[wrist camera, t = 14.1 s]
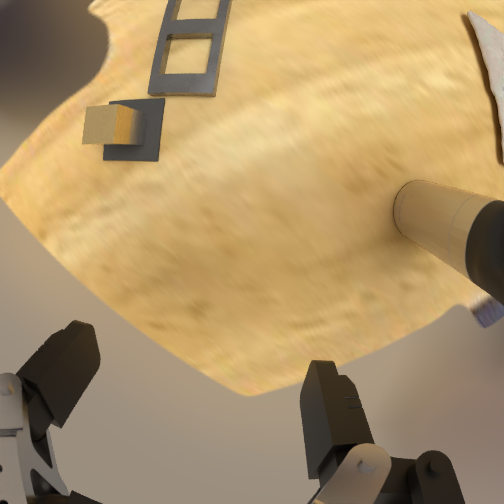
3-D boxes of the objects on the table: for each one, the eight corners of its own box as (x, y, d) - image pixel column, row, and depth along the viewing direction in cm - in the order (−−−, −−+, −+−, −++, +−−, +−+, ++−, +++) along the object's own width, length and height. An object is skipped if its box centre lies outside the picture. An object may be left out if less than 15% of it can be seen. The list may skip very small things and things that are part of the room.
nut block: (148, 114, 33) (118, 104, 24) (144, 145, 34) (113, 143, 26) (120, 114, 33) (86, 106, 24) (117, 144, 34) (82, 144, 26)
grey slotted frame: (237, -23, 25) (236, -29, 24) (215, 96, 33) (213, 93, 31) (180, -21, 25) (177, -27, 23) (152, 95, 32) (147, 93, 31)
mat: (165, 99, 33) (164, 98, 32) (158, 161, 36) (157, 161, 35) (110, 101, 33) (109, 101, 32) (104, 160, 35) (102, 160, 35)
